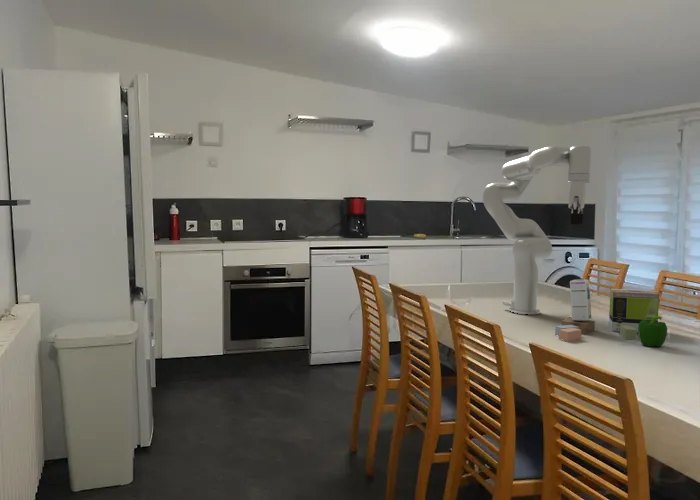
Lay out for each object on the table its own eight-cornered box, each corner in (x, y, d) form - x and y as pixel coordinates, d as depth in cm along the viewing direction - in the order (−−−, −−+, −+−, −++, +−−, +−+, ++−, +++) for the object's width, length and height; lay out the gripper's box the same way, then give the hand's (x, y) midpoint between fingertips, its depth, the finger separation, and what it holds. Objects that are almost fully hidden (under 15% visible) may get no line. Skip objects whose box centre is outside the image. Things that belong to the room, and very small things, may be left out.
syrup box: (589, 320, 200) (587, 280, 201) (571, 320, 204) (569, 280, 204) (591, 318, 205) (589, 279, 206) (574, 318, 208) (572, 279, 209)
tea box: (652, 329, 208) (654, 289, 207) (657, 335, 199) (660, 294, 198) (608, 325, 213) (610, 287, 212) (611, 331, 204) (613, 291, 202)
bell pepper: (631, 344, 185) (633, 314, 185) (646, 341, 189) (648, 312, 189) (655, 350, 178) (657, 319, 177) (671, 347, 182) (673, 316, 181)
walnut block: (560, 331, 204) (561, 320, 204) (569, 327, 211) (569, 317, 211) (586, 335, 198) (587, 324, 198) (594, 331, 205) (594, 320, 205)
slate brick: (561, 338, 193) (562, 328, 193) (554, 335, 196) (555, 325, 196) (578, 336, 195) (578, 326, 195) (571, 334, 199) (571, 324, 198)
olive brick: (636, 339, 192) (636, 329, 192) (625, 339, 193) (625, 329, 193) (630, 335, 199) (630, 325, 199) (619, 334, 200) (620, 324, 199)
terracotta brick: (567, 342, 187) (567, 331, 187) (558, 339, 190) (559, 329, 190) (580, 339, 191) (581, 329, 191) (571, 337, 194) (572, 327, 194)
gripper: (570, 179, 222) (568, 223, 224) (565, 177, 207) (563, 224, 208) (591, 179, 219) (589, 223, 220) (587, 177, 203) (584, 225, 205)
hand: (576, 223), depth 214 cm, fingers open, 9 cm apart
